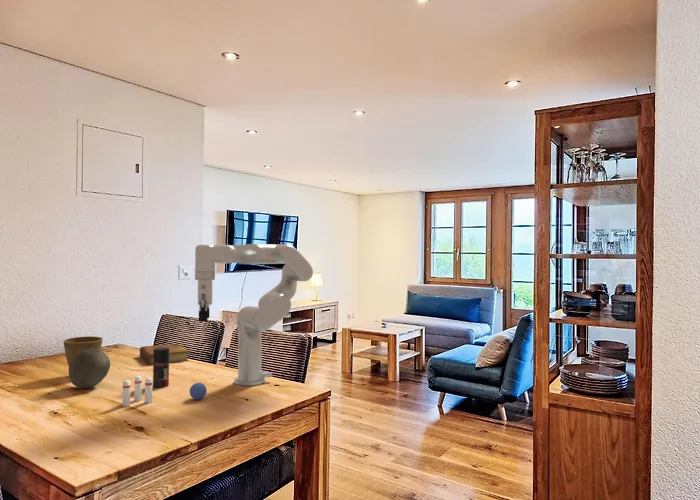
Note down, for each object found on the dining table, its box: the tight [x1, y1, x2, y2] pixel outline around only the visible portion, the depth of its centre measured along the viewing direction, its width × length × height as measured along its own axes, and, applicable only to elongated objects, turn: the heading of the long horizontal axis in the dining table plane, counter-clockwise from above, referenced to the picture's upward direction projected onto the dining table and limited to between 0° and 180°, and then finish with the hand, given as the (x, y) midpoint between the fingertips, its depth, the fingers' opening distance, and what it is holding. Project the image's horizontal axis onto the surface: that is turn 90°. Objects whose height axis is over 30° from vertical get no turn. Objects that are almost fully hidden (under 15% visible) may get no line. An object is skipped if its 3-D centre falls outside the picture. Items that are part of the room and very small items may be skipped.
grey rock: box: [68, 349, 111, 390], centre depth 192 cm, size 14×14×15 cm
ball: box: [189, 382, 208, 401], centre depth 178 cm, size 6×6×6 cm
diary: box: [139, 343, 190, 366], centre depth 246 cm, size 23×19×6 cm
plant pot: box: [63, 336, 104, 367], centre depth 209 cm, size 15×15×16 cm
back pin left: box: [121, 379, 131, 408], centre depth 170 cm, size 2×2×8 cm
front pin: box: [144, 377, 153, 404], centre depth 174 cm, size 2×2×8 cm
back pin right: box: [133, 375, 143, 402], centre depth 176 cm, size 2×2×8 cm
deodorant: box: [152, 347, 170, 389], centre depth 196 cm, size 6×6×15 cm
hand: (204, 319), depth 190 cm, fingers open, 9 cm apart
